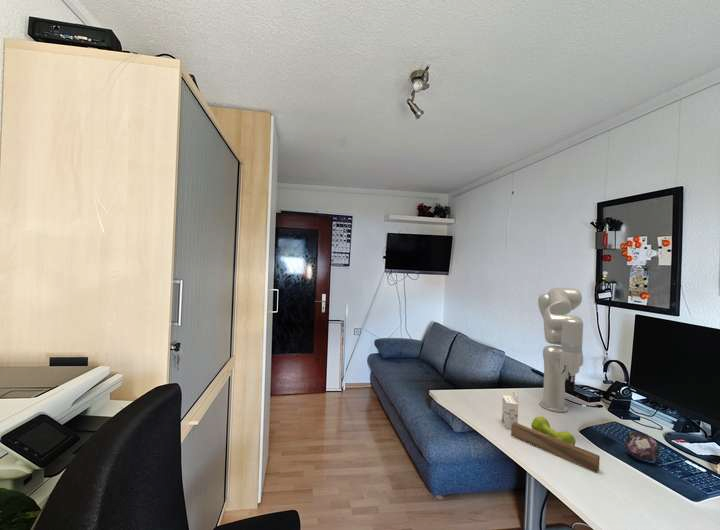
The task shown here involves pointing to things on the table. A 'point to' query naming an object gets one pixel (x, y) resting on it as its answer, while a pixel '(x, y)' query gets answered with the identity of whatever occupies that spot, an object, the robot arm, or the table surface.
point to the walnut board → (557, 447)
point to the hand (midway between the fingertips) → (569, 389)
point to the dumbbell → (551, 430)
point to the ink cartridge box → (510, 410)
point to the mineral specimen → (642, 446)
